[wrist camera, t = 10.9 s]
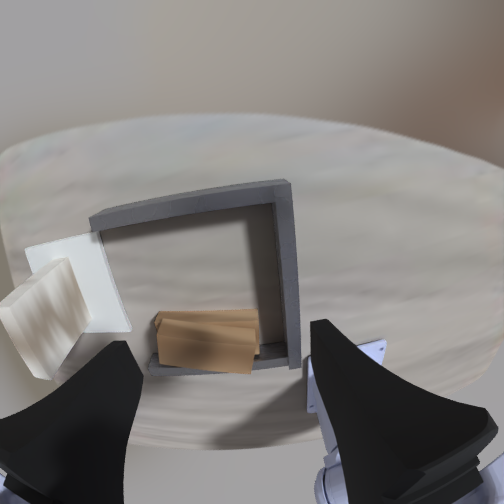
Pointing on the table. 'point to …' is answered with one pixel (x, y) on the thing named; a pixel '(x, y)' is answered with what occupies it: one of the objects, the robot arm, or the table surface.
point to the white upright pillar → (46, 317)
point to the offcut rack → (285, 246)
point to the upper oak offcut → (206, 346)
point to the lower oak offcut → (216, 319)
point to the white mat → (87, 278)
